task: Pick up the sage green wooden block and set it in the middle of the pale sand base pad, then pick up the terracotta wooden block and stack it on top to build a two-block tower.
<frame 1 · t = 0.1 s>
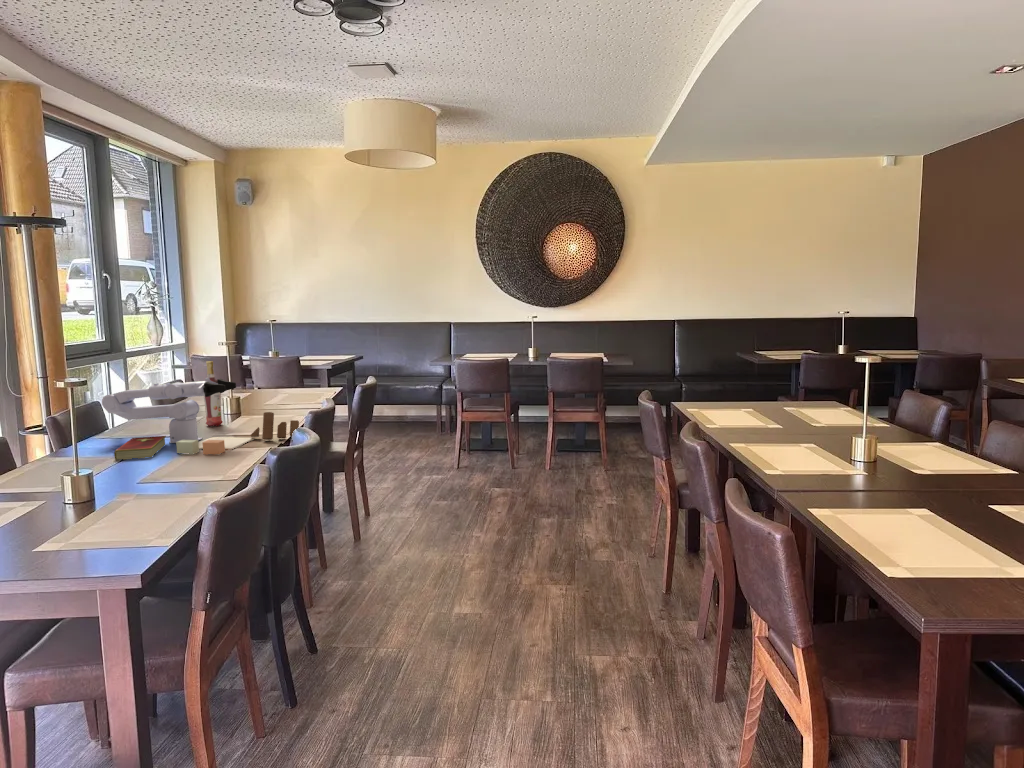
hand: (230, 386, 264), 22 cm above the table, tool horizontal, fingers open, 7 cm apart
terracotta block: (214, 453, 249), on the table
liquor: (214, 426, 300), on the table
build pad: (221, 444, 264), on the table
wooden block set: (274, 439, 271), on the table, touching build pad
hardcover book: (142, 453, 253), on the table
sage block: (188, 453, 251), on the table
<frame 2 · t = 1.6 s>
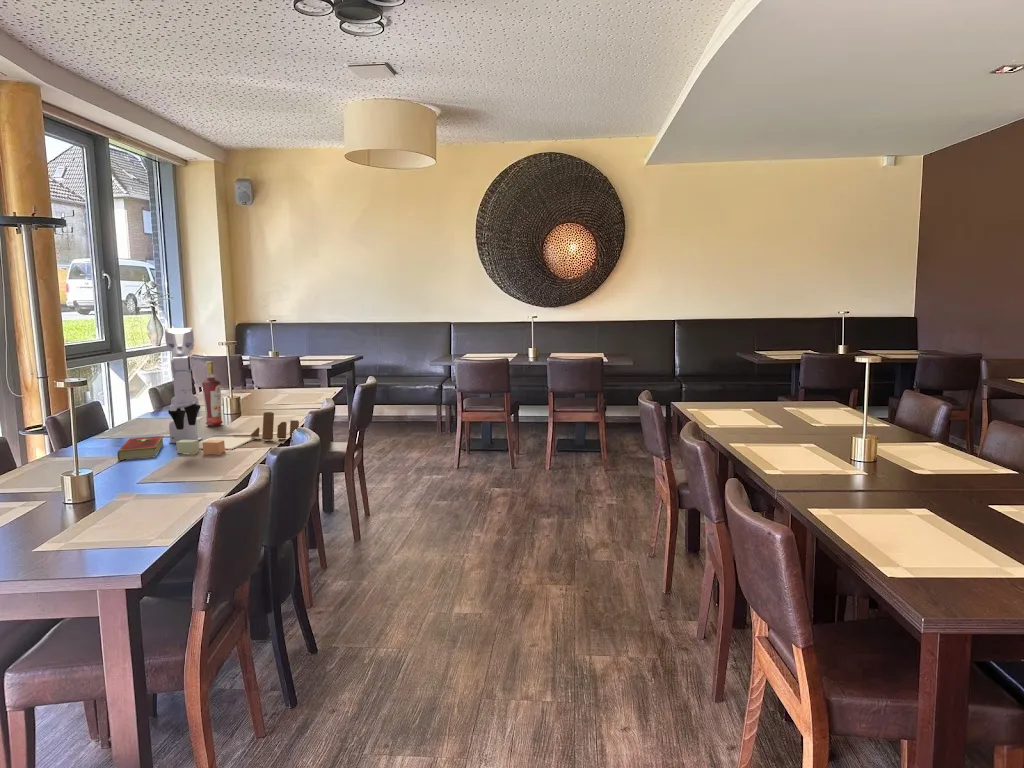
hand: (186, 427, 249), 9 cm above the table, tool pointing down, fingers open, 7 cm apart
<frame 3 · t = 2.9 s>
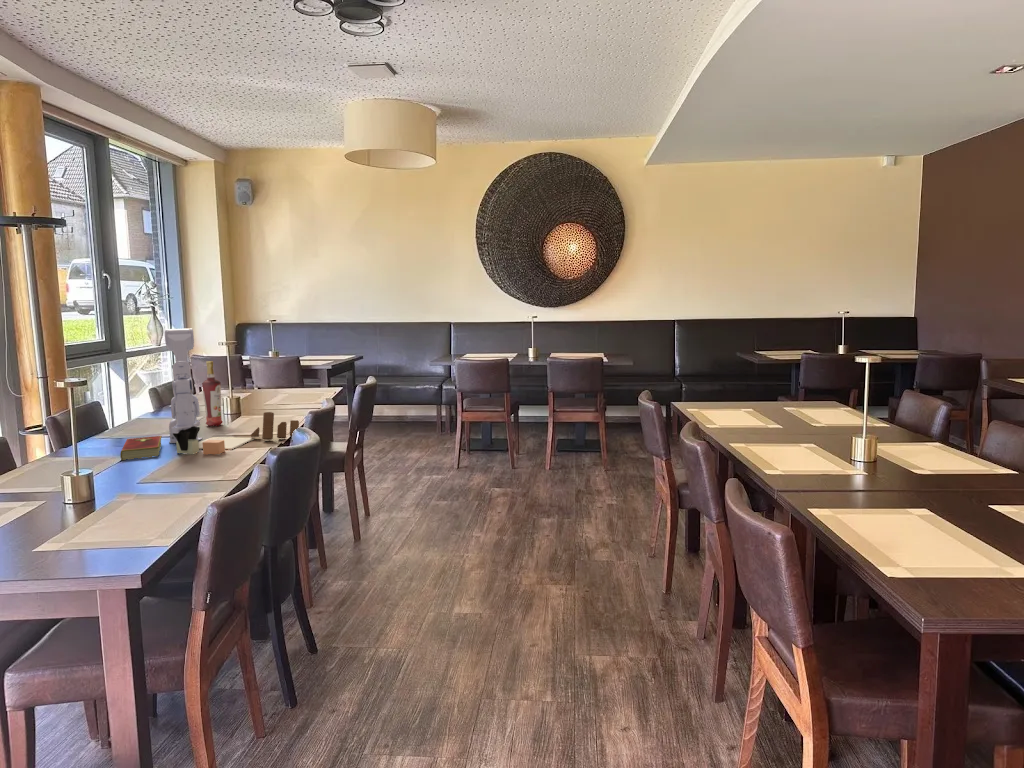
hand: (187, 448, 250), 1 cm above the table, tool pointing down, fingers closed on sage block, 4 cm apart
sage block: (188, 452, 250), on the table, touching gripper
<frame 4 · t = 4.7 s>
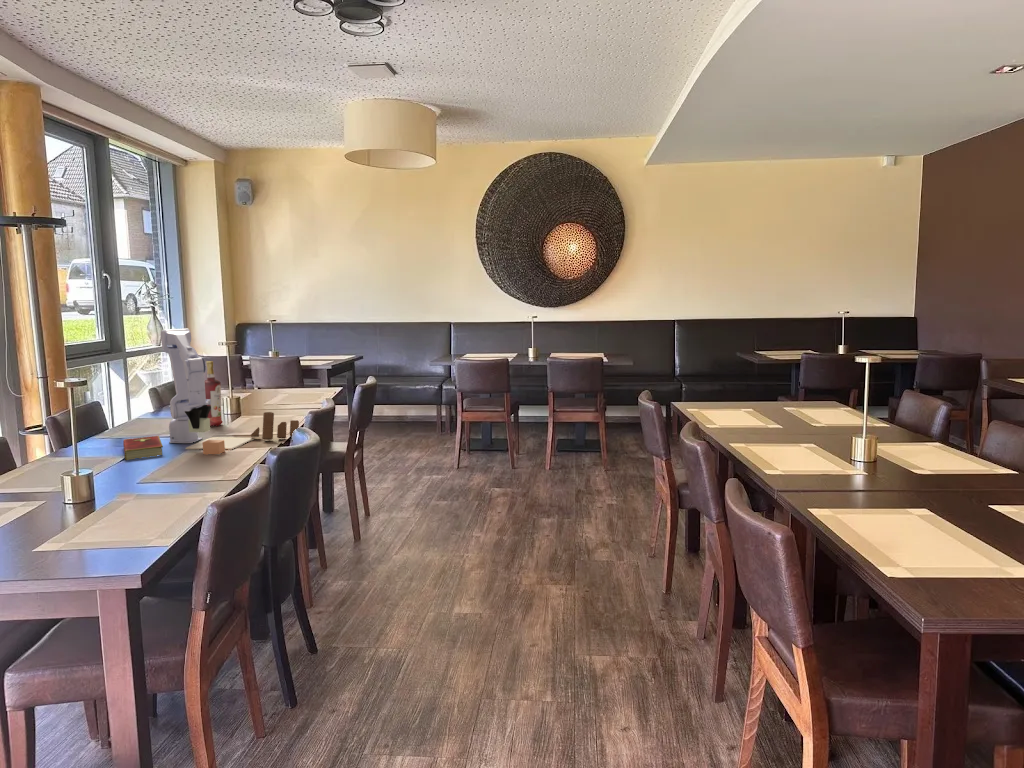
hand: (199, 427, 254), 8 cm above the table, tool pointing down, fingers closed on sage block, 4 cm apart
sage block: (199, 431, 255), point 7 cm above the table, touching gripper
when the fingers open (3 cm above the table, at t = 6.7 s): sage block stays where it is, resting on build pad.
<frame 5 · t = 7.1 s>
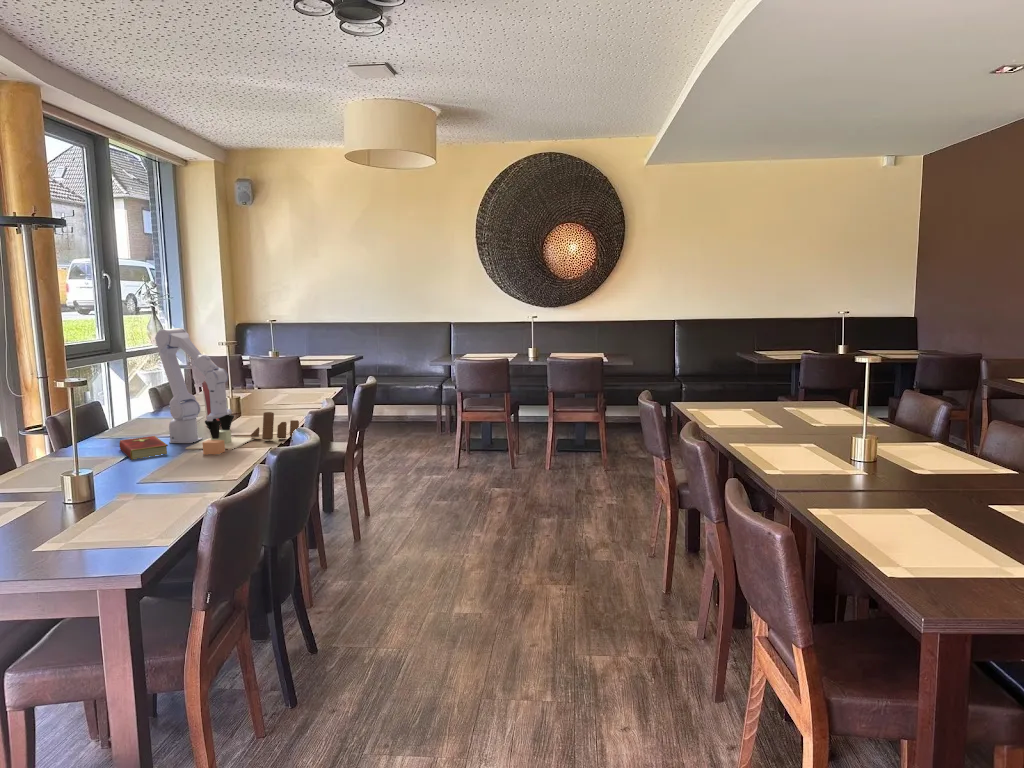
hand: (220, 436, 263), 3 cm above the table, tool pointing down, fingers open, 7 cm apart
sage block: (221, 442, 264), point 1 cm above the table, touching build pad
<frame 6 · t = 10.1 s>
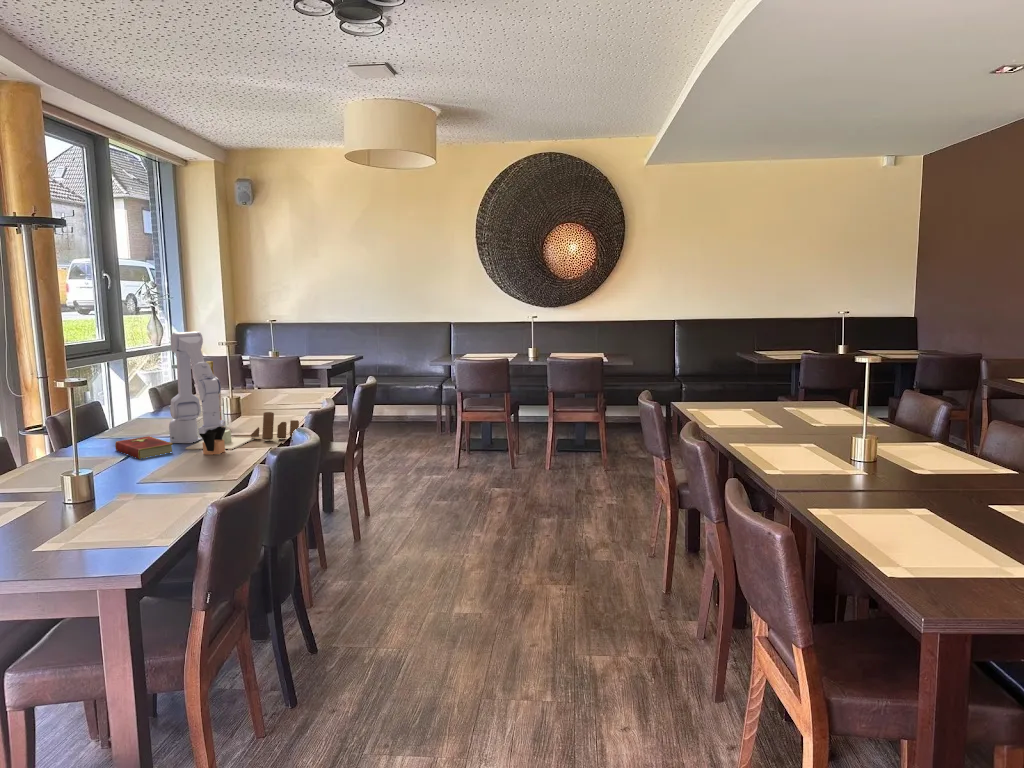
hand: (214, 449, 249), 1 cm above the table, tool pointing down, fingers closed on terracotta block, 4 cm apart
terracotta block: (214, 453, 249), on the table, touching gripper
when the fingers open (8 cm above the table, at t = 13.8 s): terracotta block stays where it is, resting on sage block.
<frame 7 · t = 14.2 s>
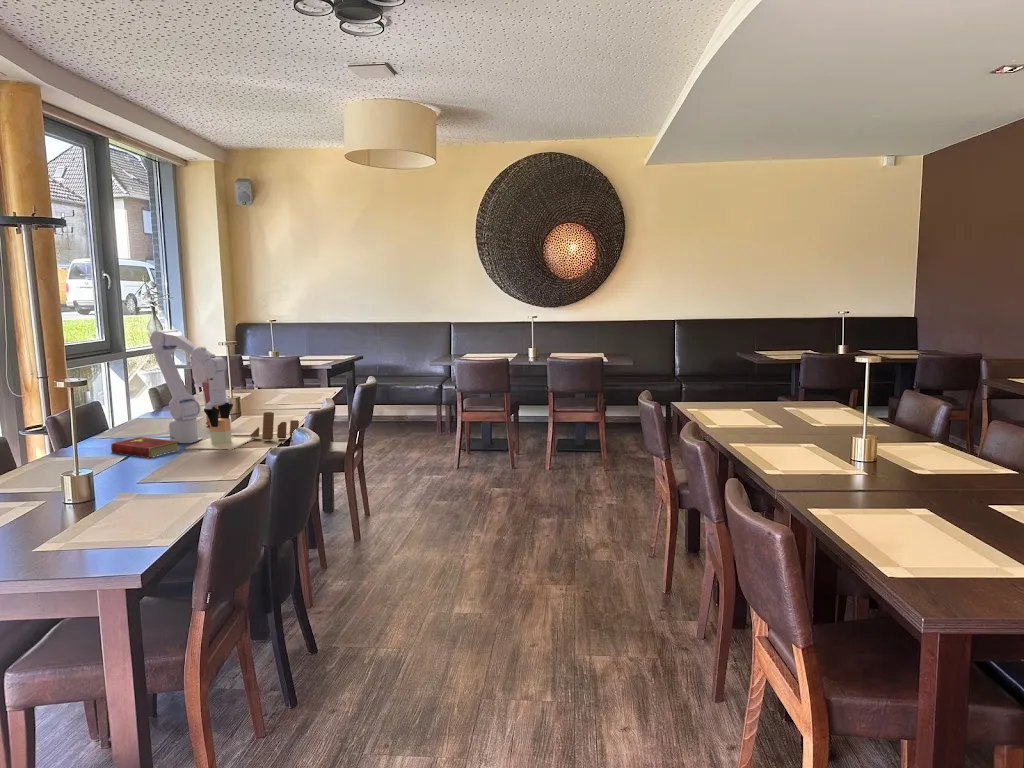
hand: (220, 424, 263), 8 cm above the table, tool pointing down, fingers open, 7 cm apart
terracotta block: (220, 431, 263), point 5 cm above the table, touching sage block
sage block: (221, 442, 264), point 1 cm above the table, touching build pad, terracotta block
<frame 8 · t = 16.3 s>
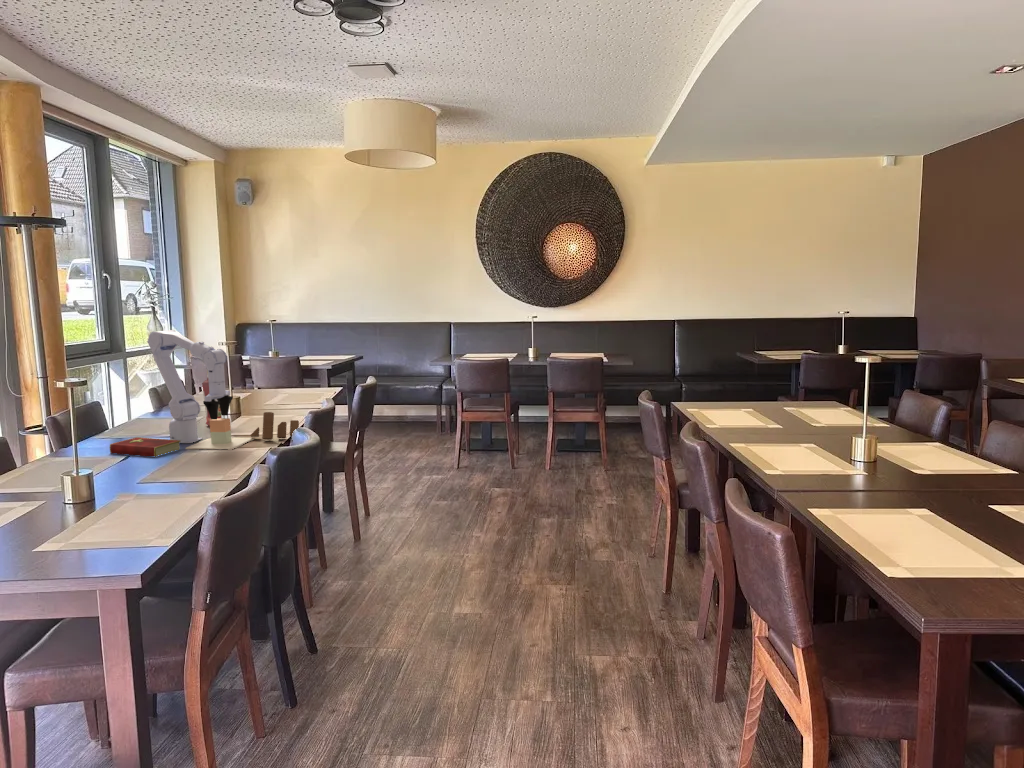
hand: (219, 417, 262), 10 cm above the table, tool pointing down, fingers open, 7 cm apart
at the end: sage block 0.1 cm off-centre on the build pad, point 0.6 cm above the build pad's base; terracotta block 0.0 cm off-centre on the sage block, point 4.5 cm above the sage block's base; terracotta block tilted 0° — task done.
